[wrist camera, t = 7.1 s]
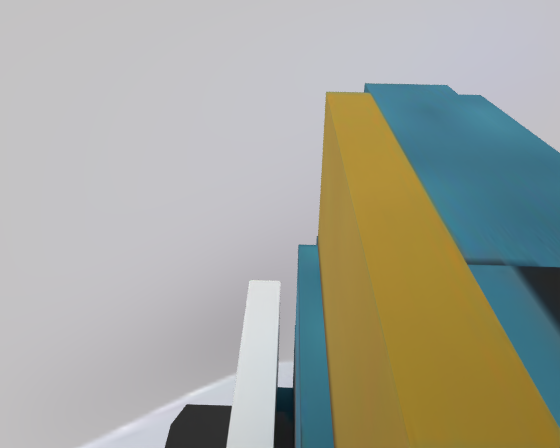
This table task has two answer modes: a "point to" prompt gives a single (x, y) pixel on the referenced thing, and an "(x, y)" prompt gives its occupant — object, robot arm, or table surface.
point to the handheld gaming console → (428, 280)
